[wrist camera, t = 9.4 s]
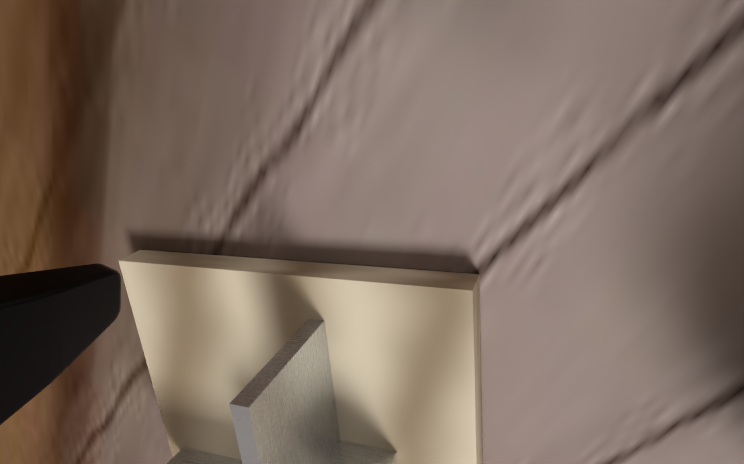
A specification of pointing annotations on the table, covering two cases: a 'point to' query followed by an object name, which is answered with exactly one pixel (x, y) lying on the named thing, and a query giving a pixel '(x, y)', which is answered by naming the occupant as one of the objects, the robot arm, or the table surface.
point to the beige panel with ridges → (309, 360)
